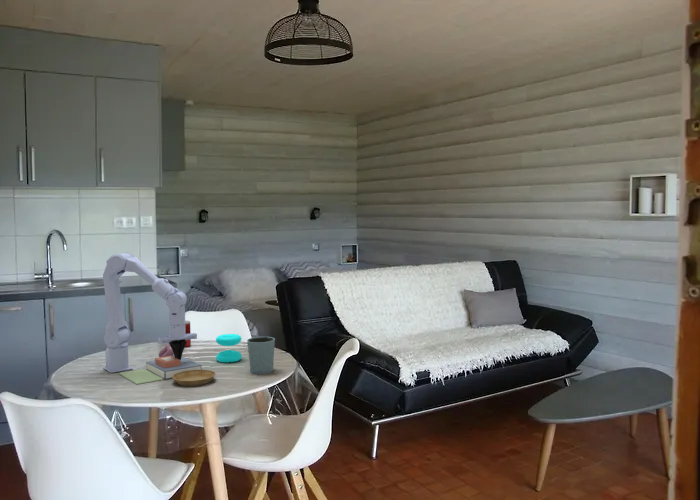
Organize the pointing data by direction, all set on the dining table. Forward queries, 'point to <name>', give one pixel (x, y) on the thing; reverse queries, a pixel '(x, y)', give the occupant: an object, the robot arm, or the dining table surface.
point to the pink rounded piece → (166, 351)
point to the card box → (167, 361)
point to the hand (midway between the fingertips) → (178, 360)
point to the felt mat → (141, 376)
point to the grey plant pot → (261, 354)
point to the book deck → (172, 368)
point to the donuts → (228, 354)
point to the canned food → (187, 332)
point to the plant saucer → (194, 377)
